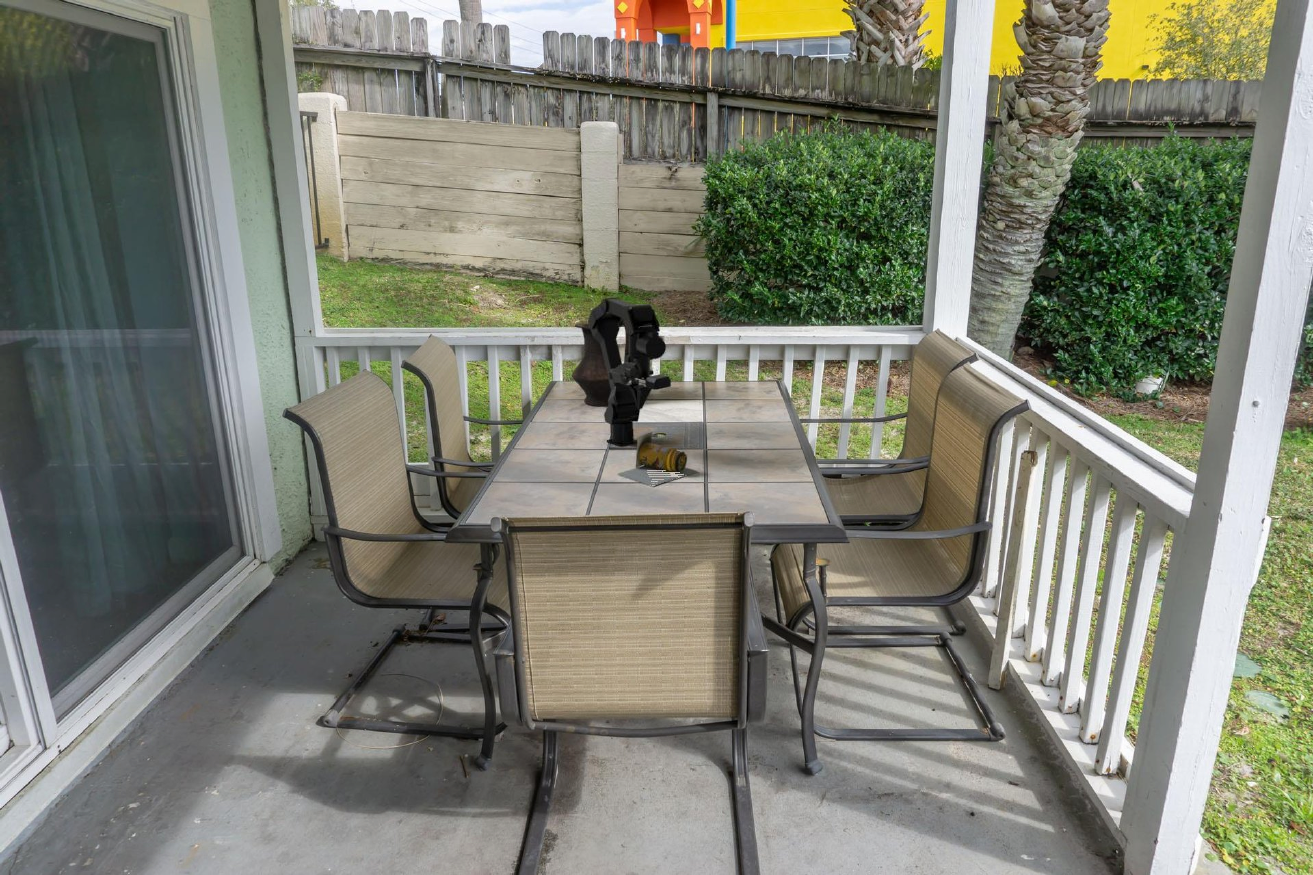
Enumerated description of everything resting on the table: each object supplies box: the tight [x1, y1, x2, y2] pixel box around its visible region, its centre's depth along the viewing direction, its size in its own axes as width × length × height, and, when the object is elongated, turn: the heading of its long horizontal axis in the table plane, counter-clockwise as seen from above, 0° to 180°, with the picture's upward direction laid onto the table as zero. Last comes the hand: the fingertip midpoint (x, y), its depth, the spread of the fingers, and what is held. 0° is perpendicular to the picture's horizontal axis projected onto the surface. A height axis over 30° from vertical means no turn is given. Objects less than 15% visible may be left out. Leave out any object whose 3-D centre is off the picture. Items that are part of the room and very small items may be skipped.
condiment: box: [635, 431, 688, 472], centre depth 231 cm, size 7×8×12 cm
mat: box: [617, 465, 698, 487], centre depth 230 cm, size 13×16×1 cm
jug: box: [571, 318, 629, 406], centre depth 296 cm, size 21×18×30 cm
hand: (639, 408), depth 242 cm, fingers closed
